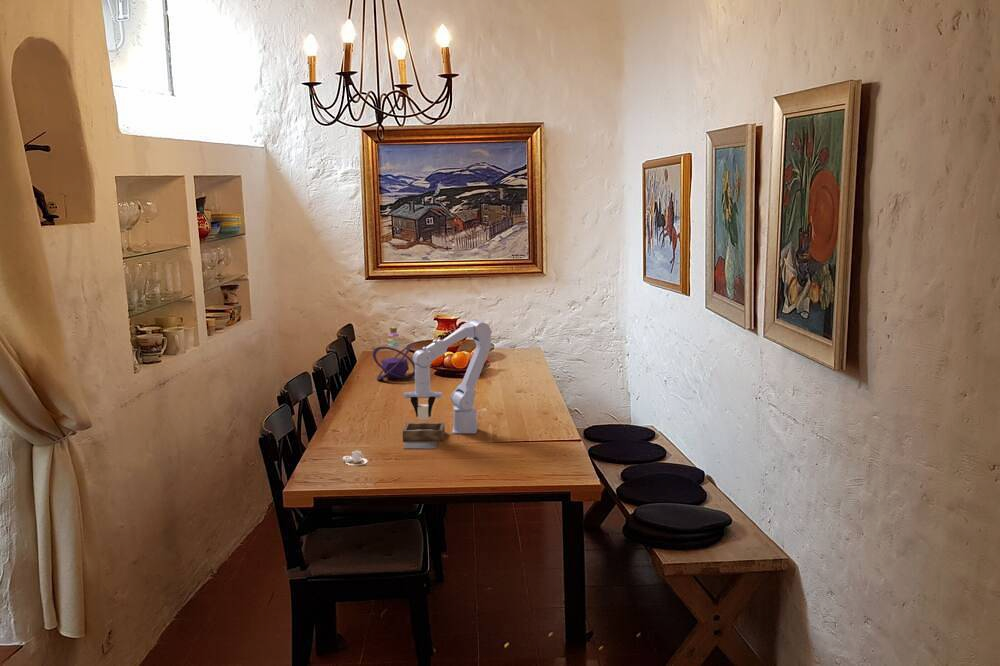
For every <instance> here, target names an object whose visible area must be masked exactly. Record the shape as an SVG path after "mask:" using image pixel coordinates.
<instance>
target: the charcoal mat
mask: <svg viewBox="0 0 1000 666" xmlns="http://www.w3.org/2000/svg"><path fill="white" fill-rule="evenodd" d="M438 443H439V441H405V443H404V446H403V450H436V449H437V446H438Z"/></svg>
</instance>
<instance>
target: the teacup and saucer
mask: <svg viewBox="0 0 1000 666" xmlns="http://www.w3.org/2000/svg"><path fill="white" fill-rule="evenodd" d="M342 460H343V462H344V463H345V464H346V465H347V464H348V465H349V466H362V465H365V464H367V463H368V461H369V460H368V459H367V458H365V457H364V454H363V453H362V451H361V450H353V451H351V455H350V456H349V455H345V456H343V457H342ZM361 461H364V462H363V463H361ZM347 462H348V463H347ZM351 462H353V463H355V464H352V463H351ZM356 463H358V464H356Z"/></svg>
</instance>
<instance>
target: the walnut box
mask: <svg viewBox="0 0 1000 666" xmlns="http://www.w3.org/2000/svg"><path fill="white" fill-rule="evenodd" d="M445 424H446V423H445V422H405V424H404V427H403V429H402V441H403V442H443V439H444V436H445V434H446V429H445V428H446V427H445Z"/></svg>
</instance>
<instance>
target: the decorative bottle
mask: <svg viewBox="0 0 1000 666" xmlns="http://www.w3.org/2000/svg"><path fill="white" fill-rule="evenodd" d="M389 330H390V333H389V334H387V336H388V337H391V338H388V339H387V340H388V342H390V343H388V346H378V347H376V348H375V349H374V350H373V351H372V358H373V360H374V362H375V363H376V365H377V366H378V367H379V368H380V369H382V370H381V371H380V372H379V374H378V376H377V378H376V380H377V381H379V380H381V379H383V378H384V377H385V376H386V377H387V378H388V379H391V380H398V379H411V378H415V363H414V362H413V361H412V358H410V357H409V356H408V353H409V352H410V351H411V348H413V347H412V344H409V345H407V346H406V347H404V348H403V349H402V350H399V349H397V348H396V347H399V346H400V343H399V341H400V340H399V338H398V337H399V333H398V332H397V330H398V328H397V326H391V327H389ZM394 347H395V348H394ZM380 350H391V351H394V352H396V353H397V354H396V355H395V356H394V357H389V358H385V359H382V360H380V361H381V364H380V362H379V361H378V359H377V353H378V352H379V351H380ZM404 351H406V352H405V353H404ZM400 354H401V357H398V356H400ZM402 355H403V356H402ZM408 361H409V362H410V363H411V365H412V367H413V371H412V373H411V374H409V375H405V374H406V373H407V372H408V371H409V370H410V368H409V363H408ZM383 373H384V374H383Z"/></svg>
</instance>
